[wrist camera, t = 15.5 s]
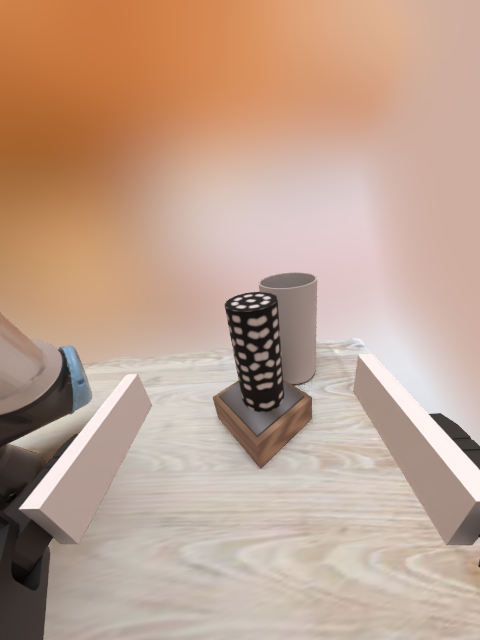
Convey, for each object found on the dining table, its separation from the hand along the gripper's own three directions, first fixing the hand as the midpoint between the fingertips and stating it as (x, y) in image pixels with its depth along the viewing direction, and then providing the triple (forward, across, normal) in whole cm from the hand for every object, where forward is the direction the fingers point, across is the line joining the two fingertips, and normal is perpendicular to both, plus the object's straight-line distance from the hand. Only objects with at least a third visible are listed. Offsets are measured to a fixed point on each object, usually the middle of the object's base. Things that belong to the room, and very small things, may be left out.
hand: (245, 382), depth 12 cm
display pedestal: (+21, 0, -29) cm, 36 cm away
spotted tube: (+21, 0, -23) cm, 31 cm away
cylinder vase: (+35, +8, -29) cm, 47 cm away
